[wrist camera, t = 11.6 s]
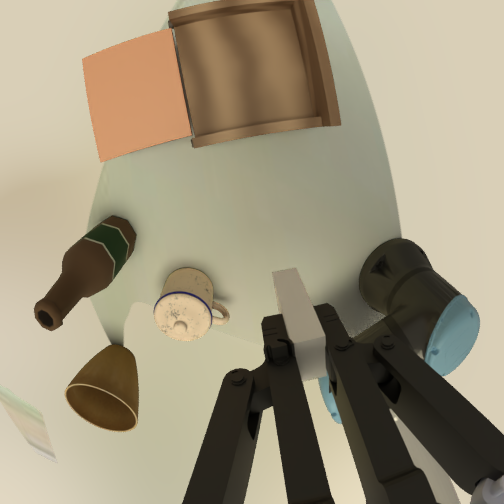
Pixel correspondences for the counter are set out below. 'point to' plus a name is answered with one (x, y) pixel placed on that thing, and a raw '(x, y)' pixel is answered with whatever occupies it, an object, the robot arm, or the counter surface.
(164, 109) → the orange rectangular slab
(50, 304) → the beer bottle
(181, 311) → the teacup with lid
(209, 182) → the counter surface
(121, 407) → the plant pot
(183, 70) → the tray
